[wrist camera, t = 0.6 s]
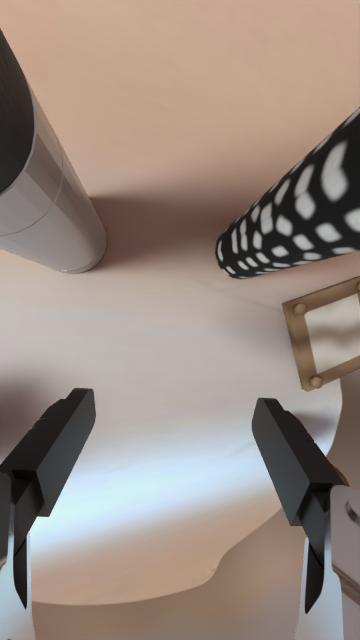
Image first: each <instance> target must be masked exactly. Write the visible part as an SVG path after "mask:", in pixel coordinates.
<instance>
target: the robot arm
mask: <svg viewBox="0 0 360 640" xmlns="http://www.w3.org/2000/svg"><path fill="white" fill-rule="evenodd" d="M106 243H107V238H106V232H105V229H104V226H103V224H102V222H101V220H100V218H99V216H98V214H97V212H96V210H95V208H94V207H93V205H92V203H91V201H90V199H89V197H88V195H87V193H86V191H85V189H84V187H83V185H82V184H81V182H80V180H79V178H78V176H77V174H76V172H75V170H74V168H73V166H72V164H71V162H70V161H69V159H68V157H67V155H66V153H65V151H64V149H63V147H62V145H61V143H60V141H59V139H58V138H57V136H56V134H55V132H54V130H53V128H52V126H51V124H50V123H49V121H48V119H47V117H46V115H45V113H44V111H43V109H42V107H41V106H40V104H39V102H38V100H37V98H36V96H35V94H34V92H33V90H32V88H31V86H30V85H29V83H28V81H27V79H26V77H25V75H24V73H23V71H22V69H21V67H20V65H19V63H18V61H17V59H16V57H15V55H14V54H13V52H12V50H11V48H10V46H9V44H8V42H7V40H6V38H5V36H4V35H3V33H2V31H1V29H0V249H2V250H4V251H7V252H10V253H12V254H15V255H18V256H20V257H23V258H26V259H28V260H31V261H33V262H36V263H39V264H41V265H44V266H47V267H49V268H52V269H54V270H57V271H60V272H64V273H81V272H84V271H87V270H89V269H91V268H92V267H94V266H95V265H96V264H97V263H98V262H99V261H100V260H101V259H102V257H103V255H104V253H105V249H106ZM95 418H96V411H95V401H94V392H93V389H87V388H75V389H73V390H72V392H71V393H70V394H69V395H68V397H67V398H66V399H60V400H59V401H57V402H56V403H54V404H53V405H52V406H50V407H49V408H48V409H47V410H46V411H45V413H44V414H43V415H42V416H41V417H40V419H39V420H38V421H37V422H36V423H35V424H34V426H33V427H32V429H31V430H29V432H28V433H27V434H26V435H25V436H24V437H23V439H22V440H21V441H20V442H19V443H18V445H17V446H16V447H15V448H14V449H13V451H12V452H11V453H10V454H9V455H8V456H7V458H6V459H5V460H4V461H3V462H2V464H1V465H0V640H35V633H34V627H33V621H32V612H31V573H30V533H29V530H30V528H31V527H32V525H33V523H34V521H35V519H36V517H37V516H39V517H49V516H50V514H51V512H52V510H53V508H54V505H55V503H56V501H57V499H58V497H59V495H60V493H61V491H62V489H63V487H64V485H65V483H66V481H67V479H68V477H69V475H70V473H71V471H72V469H73V467H74V465H75V463H76V461H77V459H78V457H79V455H80V453H81V451H82V449H83V447H84V444H85V442H86V440H87V438H88V436H89V434H90V432H91V430H92V428H93V426H94V423H95ZM252 432H253V435H254V438H255V440H256V443H257V445H258V448H259V450H260V453H261V455H262V458H263V460H264V462H265V465H266V467H267V470H268V472H269V475H270V477H271V480H272V482H273V484H274V487H275V489H276V492H277V494H278V497H279V499H280V502H281V504H282V506H283V509H284V511H285V514H286V516H287V518H288V521H289V524H290V526H303V528H304V531H305V533H306V535H307V537H306V540H305V548H304V561H303V574H302V586H301V599H300V611H299V618H298V624H297V628H296V631H295V635H294V639H293V640H360V492H358V491H357V490H355V489H353V488H350V487H348V486H346V484H345V483H344V482H343V480H342V479H341V478H340V476H339V475H338V473H337V472H336V471H335V469H334V468H333V466H332V465H331V464H330V462H329V461H328V460H327V458H326V457H325V455H324V454H323V453H322V451H321V450H320V448H319V447H318V446H317V444H316V443H314V440H313V439H312V437H311V436H310V435H309V433H307V430H306V429H305V428H304V426H303V425H302V423H301V422H300V421H299V420H298V419H297V418H296V417H295V416H294V415H293V414H291V413H290V412H289V411H284V409H283V408H282V406H281V405H280V403H279V402H278V400H277V399H274V398H259V399H258V400H257V404H256V407H255V411H254V415H253V419H252Z"/></svg>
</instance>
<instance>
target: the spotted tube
mask: <svg viewBox="0 0 360 640" xmlns="http://www.w3.org/2000/svg"><path fill="white" fill-rule="evenodd" d="M356 251H360V107H359V108H358V109H357V110H356V111H355V112H354V113H353V114H352V115H350V116H349V117H348V118H347V119H346V120H345V121H344V122H343V123H342V124H341V125H339V126H338V127H337V128H336V129H335V130H334V131H333V132H332V133H331V134H330V135H328V136H327V137H326V138H325V139H324V140H323V141H322V142H321V143H320V144H319V145H317V146H316V147H315V148H314V149H313V150H312V151H311V152H310V153H309V154H308V155H306V156H305V157H304V158H303V159H302V160H301V161H300V162H299V163H298V164H297V165H295V166H294V167H293V168H292V169H291V170H290V171H289V172H288V173H287V174H286V175H284V176H283V177H282V178H281V179H280V180H279V181H278V182H277V183H276V184H275V185H274V186H272V187H271V188H270V189H269V190H268V191H267V192H266V193H265V194H264V195H263V196H261V197H260V198H259V199H258V200H257V201H256V202H255V203H254V204H253V205H252V206H250V207H249V208H248V209H247V210H246V211H245V212H244V213H243V214H242V215H241V216H239V217H238V218H237V219H236V220H235V221H234V222H233V223H232V224H231V225H230V226H228V227H227V228H226V229H225V230H224V231H223V232H222V233H221V235H220V236H219V238H218V240H217V243H216V249H215V254H216V259H217V262H218V265H219V266H220V268H221V269H222V271H223V272H224V273H225V274H227V275H228V276H230V277H232V278H235V279H245V278H250V277H254V276H258V275H262V274H266V273H270V272H274V271H278V270H283V269H287V268H291V267H295V266H299V265H303V264H307V263H311V262H315V261H319V260H323V259H328V258H332V257H336V256H340V255H344V254H348V253H352V252H356Z"/></svg>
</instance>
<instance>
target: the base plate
mask: <svg viewBox="0 0 360 640" xmlns="http://www.w3.org/2000/svg"><path fill="white" fill-rule="evenodd" d="M282 305H283V309H284V313H285V318H286V322H287V326H288V330H289V335H290V339H291V343H292V347H293V352H294V356H295V360H296V364H297V369H298V373H299V377H300V382H301V386H302V389H304V390H305V391H307V392H309V391H311V390H313V389H315V388H321V387H322V385H324V384H326V383H329V382H331V381H333V380H335V379H337V378H340V377H342V376H344V375H346V374H348V373H351V372H353V371H355V370H357V369H359V368H360V276H358V277H355V278H352V279H349V280H346V281H344V282H341V283H338V284H335V285H333V286H330V287H327V288H324V289H321V290H319V291H316V292H313V293H310V294H307V295H305V296H302V297H299V298H296V299H294V300H291V301H288V302H285V303H282Z"/></svg>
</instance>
